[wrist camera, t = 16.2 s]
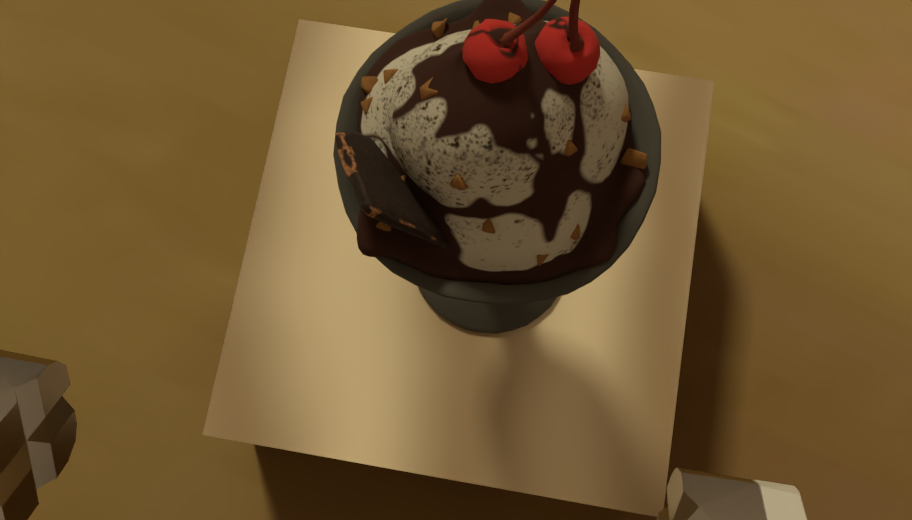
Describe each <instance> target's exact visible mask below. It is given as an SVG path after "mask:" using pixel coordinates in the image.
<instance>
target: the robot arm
mask: <svg viewBox="0 0 912 520" xmlns="http://www.w3.org/2000/svg"><path fill="white" fill-rule="evenodd" d="M69 386H70V381H69V376H68V372H67V367H66V365H64V364H62V363H60V362H58V361H55V360H50V359H45V358H40V357H35V356H30V355H24V354H19V353H14V352H9V351H4V350H0V520H28V518H29V517H30V515H31V514H32V513H33V511H34V510H35V508H36V507H37V506H38V504H39V502H38V496H37V488H39V487H41V486H43V485H45V484H47V483H49V482H50V481H52V480H54V479H56V478H57V477H58V476H59V474H60V473H61V471H62V470H63V468H64V467H65V465H66V464H67V462H68V460H69V457H70V455H71V452H72V449H73V446H74V443H75V441H76V428H77V422H76V415H75V410H74V409H73V408H72V406H71V405H70V404H69V403H68V402H67V401H66V400H65V399H64V398H63V396H62V395H63V394H64V392H65V391H66V390H67V388H68V387H69ZM667 499H668V507H666V508H664V509H663V510H661V511H660V512H658V515H657V519H656V520H807V516H806V513H805V509H804V506H803V502H802V498H801V495H800V492H799V491H798V490H797V489H796V487H795V486H791V485H785V484H779V483H772V482H766V481H760V480H754V481H753V480H751V479H745V478H739V477H733V476H727V475H721V474H715V473H708V472H702V471H696V470H690V469H684V468H678V467H676V468H675V470H674V471H673V473H672V474H671V477H670V480H669V483H668V486H667Z"/></svg>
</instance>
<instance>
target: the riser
mask: <svg viewBox="0 0 912 520" xmlns="http://www.w3.org/2000/svg"><path fill="white" fill-rule="evenodd" d="M394 34H395V33H388V32H381V31H375V30H368V29H361V28H355V27H348V26H341V25H334V24H328V23H321V22H314V21H308V20H301V19H299V22H298V26H297V31H296V35H295V39H294V43H293V48H292V52H291V56H290V61H289V65H288V69H287V74H286V78H285V82H284V86H283V91H282V95H281V99H280V104H279V108H278V112H277V117H276V121H275V125H274V129H273V134H272V138H271V142H270V147H269V151H268V155H267V160H266V164H265V168H264V172H263V177H262V181H261V185H260V190H259V194H258V198H257V203H256V207H255V211H254V215H253V220H252V224H251V228H250V233H249V237H248V241H247V246H246V250H245V254H244V258H243V263H242V267H241V271H240V276H239V280H238V284H237V289H236V293H235V297H234V301H233V306H232V310H231V314H230V319H229V323H228V327H227V332H226V336H225V340H224V344H223V349H222V353H221V357H220V362H219V366H218V370H217V375H216V379H215V383H214V387H213V392H212V396H211V400H210V405H209V409H208V413H207V418H206V422H205V426H204V430H203V435H205V436H211V437H217V438H222V439H228V440H233V441H239V442H244V443H250V444H255V445H261V446H266V447H272V448H277V449H283V450H289V451H294V452H300V453H305V454H311V455H316V456H322V457H327V458H333V459H338V460H344V461H349V462H355V463H361V464H366V465H372V466H377V467H383V468H388V469H394V470H399V471H405V472H410V473H416V474H421V475H427V476H433V477H438V478H444V479H449V480H455V481H460V482H466V483H471V484H477V485H482V486H488V487H493V488H499V489H505V490H510V491H516V492H521V493H527V494H532V495H538V496H543V497H549V498H554V499H560V500H565V501H571V502H577V503H582V504H588V505H593V506H599V507H604V508H610V509H615V510H621V511H626V512H632V513H637V514H643V515H649V516H654V517H657V515H658V512H660V511H661V510H663V509H664V501H665V493H666V485H667V476H668V468H669V459H670V451H671V442H672V434H673V425H674V417H675V409H676V400H677V392H678V383H679V375H680V366H681V358H682V349H683V341H684V332H685V324H686V316H687V307H688V299H689V290H690V282H691V273H692V265H693V256H694V248H695V240H696V231H697V223H698V214H699V206H700V197H701V189H702V180H703V172H704V164H705V155H706V147H707V138H708V130H709V121H710V113H711V104H712V96H713V87H714V81H710V80H704V79H697V78H690V77H683V76H677V75H670V74H663V73H657V72H650V71H643V70H636V69H634V70H635V71H636V73H637V74H638V76H639V77H640V78H641V80H642V81H643V82H644V84H645V86H646V89H647V91H648V93H649V95H650V98H651V100H652V102H653V104H654V108H655V111H656V115H657V119H658V122H659V126H660V129H661V165H660V171H659V178H658V184H657V190H656V194H655V196H654V199H653V201H652V203H651V206H650V208H649V210H648V213H647V215H646V217H645V220H644V222H643V224H642V225H641V227H640V229H639V231H638V232H637V234H636V236H635V238H634V239H633V241H632V243H631V245H630V246H629V247H628V249H627V250H626V251H625V252H624V253H623V254H622V255H621V256H620V257H619V259H618V260H617V261H616V262H615V263H614V264H613V265H612V266H611V267H610V268H609V269H608V270H606V271H605V272H604V273H603V274H601V275H600V276H599V277H597V278H596V279H595V280H594V281H592V282H591V283H589V284H587V285H585V286H583V287H581V288H579V289H577V290H575V291H573V292H571V293H569V294H566V295H562V296H558V297H557V298H556V300H555V301H554V303H553V304H552V306H551V307H550V308H549V309H548V310H547V311H545V312H544V313H543V314H542V315H541V316H540V317H538V318H537V319H535V320H534V321H533V322H531V323H530V324H528V325H527V326H524V327H521V328H518V329H515V330H512V331H507V332H502V333H497V334H493V333H480V332H474V331H469V330H465V329H463V328H461V327H458V326H456V325H454V324H452V323H450V322H449V321H447V320H446V319H444V318H443V317H441V316H440V315H438V314H437V313H436V311H435V310H434V309H433V308H432V307H431V306H430V305H429V304H428V302H427V301H426V299H425V298H424V296H423V295H422V293H421V292H420V290H419V288H418V286H416V285H414V284H412V283H410V282H409V281H407V280H405V279H403V278H401V277H399V276H398V275H396V274H394V273H392V272H391V271H390V270H389V269H388V268H386V267H385V266H384V265H383V264H382V263H381V262H380V261H379V260H377V259H376V258H375V257H368V256H366V255H363V254H362V253H361V251H360V250H359V248H358V244H357V233H356V231H355V229H354V227H353V226H352V224H351V222H350V220H349V218H348V216H347V214H346V212H345V209H344V205H343V201H342V198H341V194H340V191H339V187H338V182H337V175H336V169H335V163H334V156H333V152H334V142H335V132H336V123H337V119H338V115H339V111H340V107H341V103H342V99H343V96H344V94H345V92H346V90H347V89H348V87H349V85H350V84H351V82H352V80H353V78H354V77H355V75H356V73H357V71H358V70H359V69H360V68H361V66H362V65H363V64H364V62H365V61H366V60H367V59H368V57H369V56H370V55H371V53H373V52H374V51H375V50H376V49H377V48H378V47H380V46H381V45H382V44H383V43H384V42H385V41H387V40H388V39H389V38H390V37H392V36H393V35H394Z"/></svg>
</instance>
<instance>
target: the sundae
mask: <svg viewBox="0 0 912 520" xmlns="http://www.w3.org/2000/svg"><path fill="white" fill-rule="evenodd" d="M555 2H556V0H548V1H543V0H461V1H457V2H454V3H451V4H448V5H446V6H443V7H440V8H438V9H435V10H433V11H430V12H429V13H427V14H425V15H424V16H422V17H420V18H419V19H417V20H415V21H414V22H412V23H410V24H409V25H407V26H406V27H404V28H403V29H401V30H400V31H399V32H397V33H396V34H394V35H393V36H392V37H390V38H389V39H388V40H387V41H385V42H384V43H383V44H382V45H381V46H380V47H378V48H377V49H376V50H375V51H374V52H373V53H371V55H370V56H369V57H368V59H367V60H366V61H365V62H364V64H363V65H362V66H361V68H360V69H359V70H358V71H357V73H356V75H355V77H354V78H353V80H352V82H351V84H350V85H349V87H348V89H347V90H346V92H345V94H344V96H343V99H342V103H341V107H340V111H339V115H338V119H337V123H336V132H335V142H334V152H333V156H334V163H335V169H336V175H337V182H338V187H339V191H340V194H341V198H342V201H343V205H344V209H345V212H346V214H347V216H348V218H349V220H350V222H351V224H352V226H353V227H354V229H355V231H356V233H357V244H358V248H359V250H360V251H361V253H362V254H363V255H366V256H368V257H375V258H376V259H377V260H379V261H380V262H381V263H382V264H383V265H384V266H385V267H386V268H388V269H389V270H390V271H391V272H392V273H394V274H396V275H398V276H399V277H401V278H403V279H405V280H407V281H409V282H410V283H412V284H414V285H416V286H418V288H419V290H420V292H421V293H422V295H423V296H424V298H425V299H426V301H427V302H428V304H429V305H430V306H431V307H432V308H433V309H434V310H435V311H436V313H437V314H438V315H440V316H441V317H443V318H444V319H446V320H447V321H449V322H450V323H452V324H454V325H456V326H458V327H461V328H463V329H465V330H469V331H474V332H480V333H493V334H497V333H502V332H507V331H512V330H515V329H518V328H521V327H524V326H527V325H528V324H530V323H531V322H533V321H534V320H535V319H537V318H538V317H540V316H541V315H542V314H543V313H544V312H545V311H547V310H548V309H549V308H550V307H551V306H552V304H553V303H554V301H555V300H556V298H557V297H558V296H562V295H566V294H569V293H571V292H573V291H575V290H577V289H579V288H581V287H583V286H585V285H587V284H589V283H591V282H592V281H594V280H595V279H596V278H597V277H599V276H600V275H601V274H603V273H604V272H605V271H606V270H608V269H609V268H610V267H611V266H612V265H613V264H614V263H615V262H616V261H617V260H618V259H619V257H620V256H621V255H622V254H623V253H624V252H625V251H626V250H627V249H628V247H629V246H630V245H631V243H632V241H633V239H634V238H635V236H636V234H637V232H638V231H639V229H640V227H641V225H642V224H643V222H644V220H645V217H646V215H647V213H648V210H649V208H650V206H651V203H652V201H653V199H654V196H655V194H656V190H657V184H658V178H659V171H660V165H661V129H660V126H659V122H658V119H657V115H656V111H655V108H654V104H653V102H652V100H651V98H650V95H649V93H648V91H647V89H646V86H645V84H644V82H643V81H642V80H641V78H640V77H639V76H638V74H637V73H636V71H635V70H634V69H633V67H632V66H631V64H630V63H629V62H628V61H627V60H626V59H625V58H624V57H623V55H622V54H621V53H620V52H619V51H618V50H617V49H616V48H615V46H614V45H612V44H611V43H610V42H609V41H608V40H607V39H606V38H605V37H604V36H603V35H602V34H601V33H600V32H599V31H598V30H596V29H595V28H594V27H592V26H591V25H589V24H588V23H586V22H585V21H583V20H581V19H580V18H578V12H579V4H580V0H571V4H570V9H569V12H568V11H565V10H563V9H561V8H559V7H557V6H555V5H554V3H555Z"/></svg>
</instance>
